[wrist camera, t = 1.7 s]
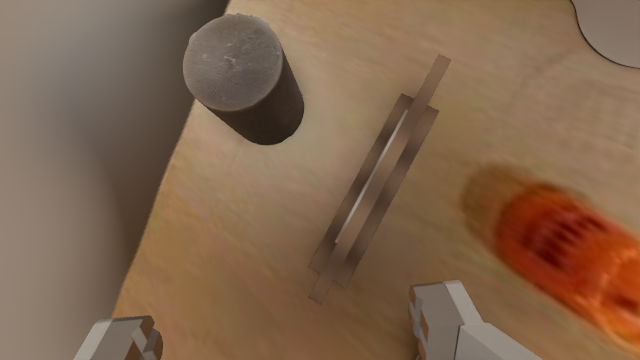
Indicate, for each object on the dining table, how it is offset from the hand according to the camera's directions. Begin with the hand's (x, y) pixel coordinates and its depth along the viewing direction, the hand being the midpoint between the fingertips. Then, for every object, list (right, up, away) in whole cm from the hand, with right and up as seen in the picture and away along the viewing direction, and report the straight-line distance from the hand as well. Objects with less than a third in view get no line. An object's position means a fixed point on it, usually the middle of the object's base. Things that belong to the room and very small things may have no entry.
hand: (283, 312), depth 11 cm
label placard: (+8, +3, +32) cm, 33 cm away
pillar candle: (-6, +14, +35) cm, 38 cm away
